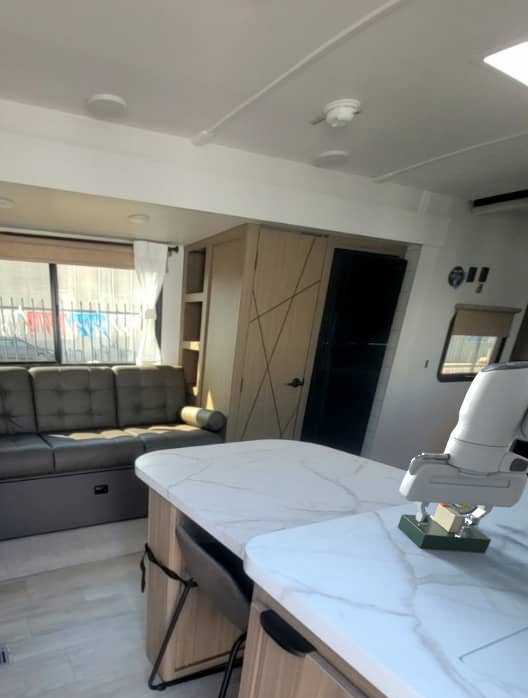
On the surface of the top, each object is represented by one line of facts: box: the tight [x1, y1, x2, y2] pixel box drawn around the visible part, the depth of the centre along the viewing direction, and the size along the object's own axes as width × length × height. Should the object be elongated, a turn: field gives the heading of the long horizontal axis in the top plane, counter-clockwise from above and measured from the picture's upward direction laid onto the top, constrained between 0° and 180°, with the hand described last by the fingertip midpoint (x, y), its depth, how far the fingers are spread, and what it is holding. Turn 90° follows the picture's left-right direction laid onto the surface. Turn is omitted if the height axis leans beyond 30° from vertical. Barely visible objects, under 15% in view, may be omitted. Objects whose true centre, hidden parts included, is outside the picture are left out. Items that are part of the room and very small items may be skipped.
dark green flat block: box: [397, 513, 492, 554], centre depth 81 cm, size 12×10×3 cm
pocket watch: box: [433, 503, 478, 521], centre depth 88 cm, size 8×8×10 cm
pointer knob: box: [433, 503, 465, 533], centre depth 79 cm, size 6×2×4 cm, turn 176°
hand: (445, 522), depth 80 cm, fingers open, 8 cm apart
